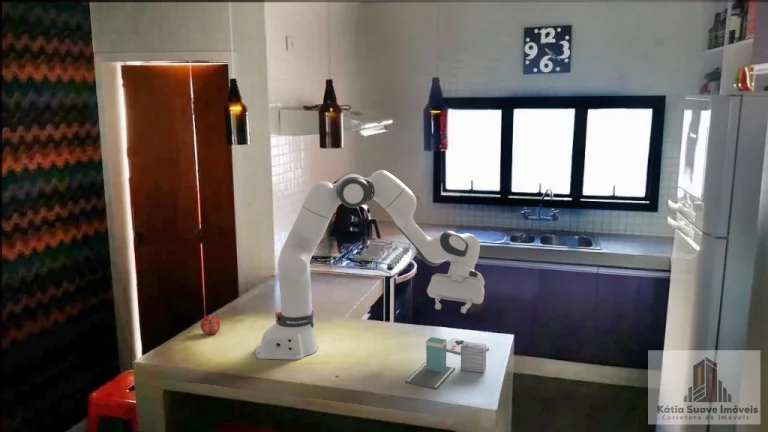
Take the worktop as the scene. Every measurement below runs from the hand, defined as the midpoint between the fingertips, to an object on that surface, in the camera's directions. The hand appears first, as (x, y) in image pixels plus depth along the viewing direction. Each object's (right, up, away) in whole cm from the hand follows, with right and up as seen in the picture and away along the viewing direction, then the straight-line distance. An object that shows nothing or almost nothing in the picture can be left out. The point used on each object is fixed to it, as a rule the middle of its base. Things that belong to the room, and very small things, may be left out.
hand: (450, 310), depth 211 cm
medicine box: (+7, -19, -8) cm, 21 cm away
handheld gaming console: (+6, -16, +9) cm, 20 cm away
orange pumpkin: (-91, -14, +28) cm, 96 cm away
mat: (-8, -20, -12) cm, 24 cm away
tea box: (-5, -18, -8) cm, 20 cm away
